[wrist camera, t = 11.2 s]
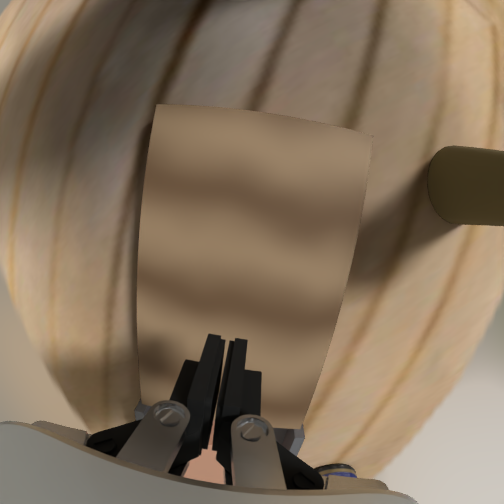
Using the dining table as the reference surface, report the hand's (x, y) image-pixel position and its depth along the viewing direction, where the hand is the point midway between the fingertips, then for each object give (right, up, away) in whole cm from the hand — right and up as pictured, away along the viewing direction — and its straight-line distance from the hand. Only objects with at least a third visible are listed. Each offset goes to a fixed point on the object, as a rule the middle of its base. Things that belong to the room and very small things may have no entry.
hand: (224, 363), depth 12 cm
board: (0, +2, +8) cm, 8 cm away
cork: (+17, +10, +6) cm, 20 cm away
